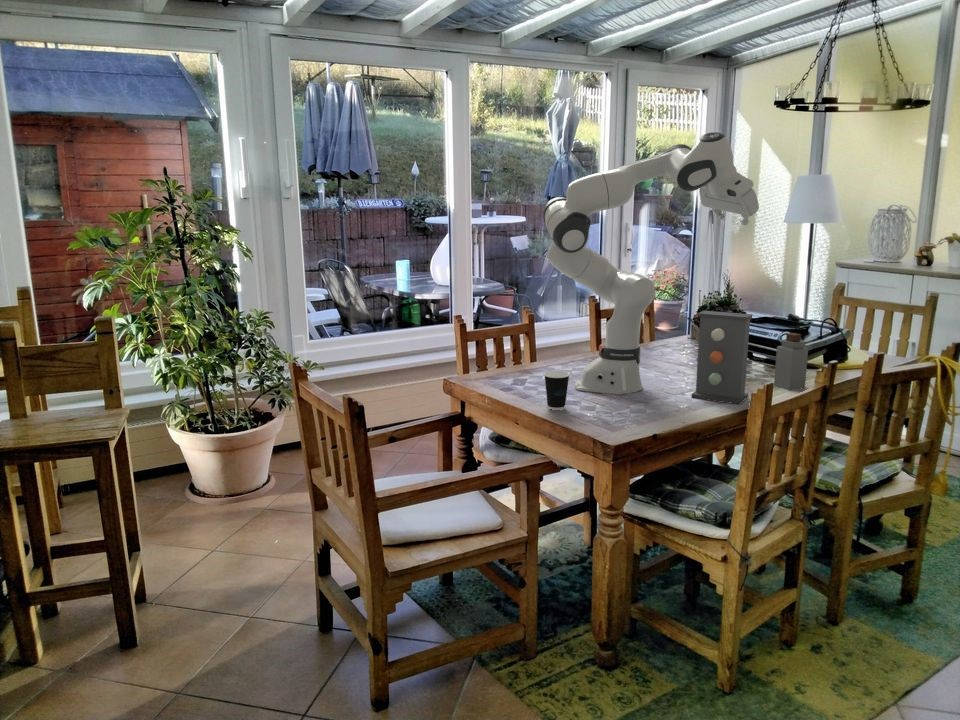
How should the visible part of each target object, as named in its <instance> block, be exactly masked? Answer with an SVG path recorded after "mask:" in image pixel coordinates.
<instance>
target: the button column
mask: <svg viewBox="0 0 960 720" xmlns="http://www.w3.org/2000/svg"><path fill="white" fill-rule="evenodd" d="M697 316H698V317H699V331H698V349H697V359H698V360H697V365H696V366H697V367H696V382H695V391H694V392H692V393H691V398H692V397H694V398H693V399H699V398H701V400H706V399H709V400H708V401H713V400H716V401H715V402H719V401H723V402H722V403H726V402H731V403H730V404H733V403H741V402H742V401H743V400H744V399H745V398H746V399H747V398H748V397H749V392H746V380H747V379H746V378H747V366H748V352H749V350H748V349H749V339H750V338H749V337H750V325H751V319H752V318H753V314H752V313H739V312H738V313H737V312H726V311H715V310H714V311H712V310H702V311H701V312H698V314H697ZM718 328H720V329H722V330H723V331H724V332H725V337H724V338H723V339H722V340H720V341H715V340H713V339H712V337H711V333H712V331H714V330H715V329H718ZM714 351H720V352H722V353H723V360H722V361H720V362H719V363H713V362H712V361H711V360H710V355H711V353H713V352H714ZM713 373H719V374H720V375H721V376H722V381H721V382H720V383H719V384H718V385H712V384H710V382H709V380H708V379H709V376H710V375H711V374H713ZM746 399H745V400H746ZM745 400H744V401H745ZM744 401H743V402H744ZM743 402H742V403H743ZM742 403H741V404H742Z"/></svg>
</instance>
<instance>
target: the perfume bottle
mask: <svg viewBox="0 0 960 720" xmlns="http://www.w3.org/2000/svg"><path fill="white" fill-rule="evenodd" d="M785 336H786V339H780V342H781V345H778V346H776V355H775V356H776V357H775V369H774V379H773V386H774V385H775V387H778V388H780V389H784V390H787V391H794V390H795V391H796V390H801V389H800V388H802V389H805V388H806V381H807V380H806V377H807V367H808V357H809V355H808V354H809V348H808V347H805V345H806V341H804V340H801V338H802V334H801V333H796V332H789V333H786V335H785Z"/></svg>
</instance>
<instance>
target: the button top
mask: <svg viewBox="0 0 960 720" xmlns="http://www.w3.org/2000/svg"><path fill="white" fill-rule="evenodd" d="M711 337H712V339H713V340H715V341H720V340H722V339H723V338H724V337H725V332H724V331H723V330H722V329H720V328H718V329H715V330H714V331H712V333H711Z"/></svg>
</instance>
